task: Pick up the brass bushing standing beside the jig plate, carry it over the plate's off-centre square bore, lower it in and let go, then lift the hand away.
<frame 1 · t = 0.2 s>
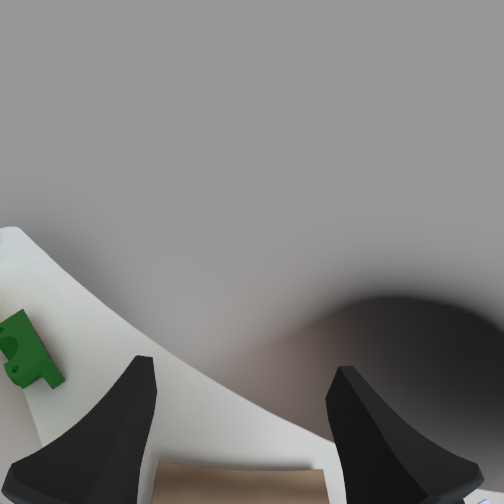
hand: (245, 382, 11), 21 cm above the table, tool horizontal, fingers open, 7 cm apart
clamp: (31, 370, 31), on the table
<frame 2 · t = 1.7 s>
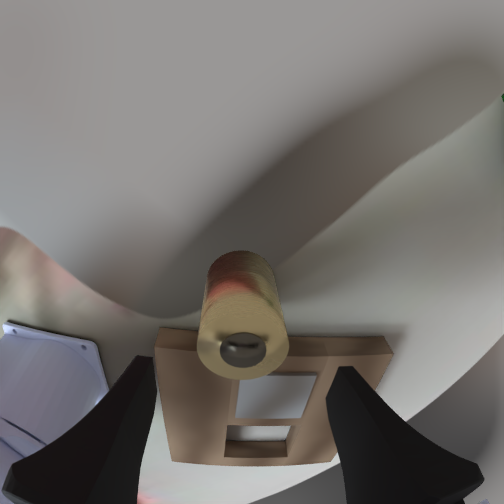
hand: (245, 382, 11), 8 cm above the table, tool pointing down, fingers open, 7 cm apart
brass bushing: (240, 281, 18), on the table
jig plate: (263, 407, 24), on the table
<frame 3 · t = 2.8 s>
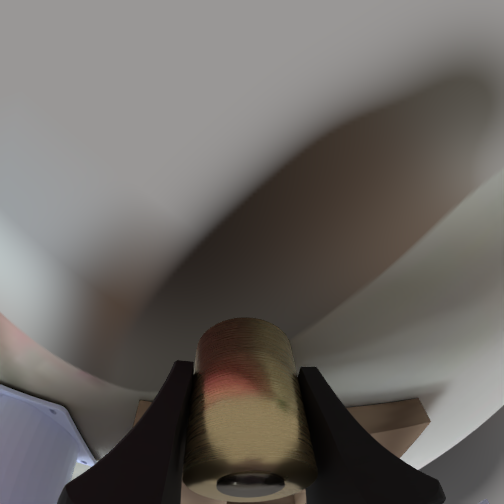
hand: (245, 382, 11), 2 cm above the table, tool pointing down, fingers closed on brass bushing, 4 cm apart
brass bushing: (243, 354, 13), on the table, touching gripper
jig plate: (270, 471, 18), on the table
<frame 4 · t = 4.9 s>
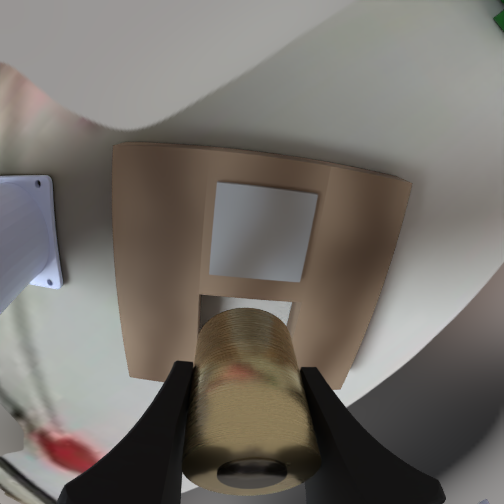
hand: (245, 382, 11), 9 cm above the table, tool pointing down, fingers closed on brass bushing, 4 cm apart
brass bushing: (244, 347, 13), point 7 cm above the table, touching gripper
jig plate: (249, 281, 20), on the table
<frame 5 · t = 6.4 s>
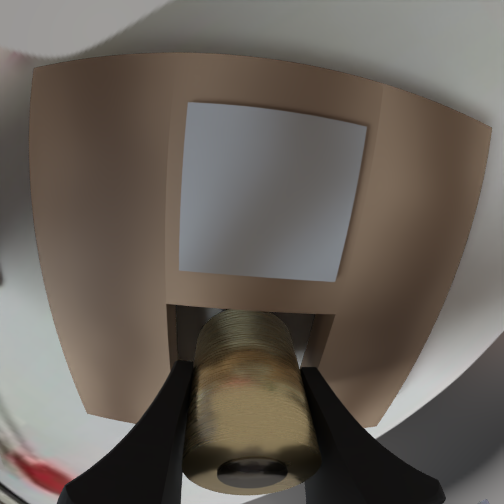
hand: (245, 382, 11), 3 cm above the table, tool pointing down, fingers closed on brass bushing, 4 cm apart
brass bushing: (244, 347, 13), point 1 cm above the table, touching gripper
jig plate: (250, 281, 12), on the table
when the fingers open (3 cm above the table, at t = 7.2 s): brass bushing stays where it is, resting in jig plate.
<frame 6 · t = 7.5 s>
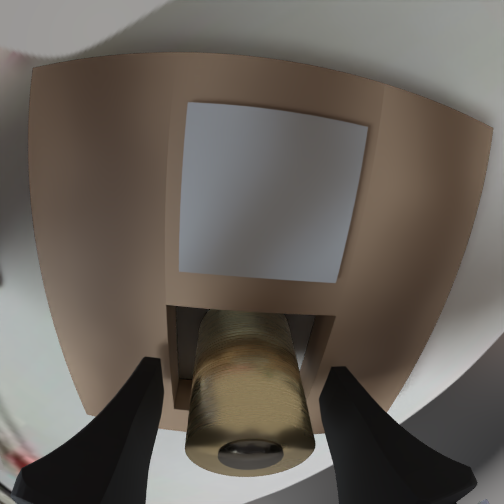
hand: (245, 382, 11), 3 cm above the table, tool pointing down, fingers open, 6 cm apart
brass bushing: (244, 334, 13), resting in jig plate
jig plate: (250, 282, 12), on the table
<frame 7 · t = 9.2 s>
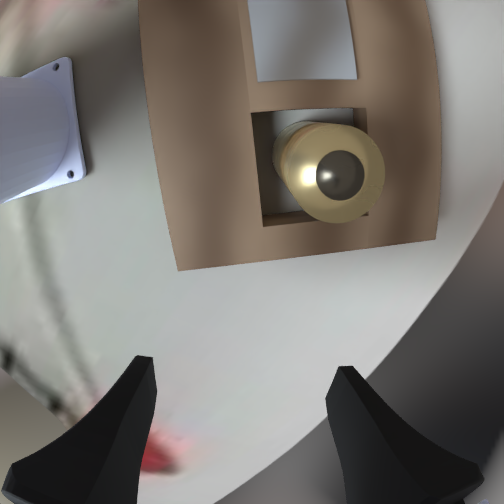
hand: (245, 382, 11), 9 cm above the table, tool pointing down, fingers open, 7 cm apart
brass bushing: (306, 155, 17), resting in jig plate
jig plate: (302, 109, 16), on the table
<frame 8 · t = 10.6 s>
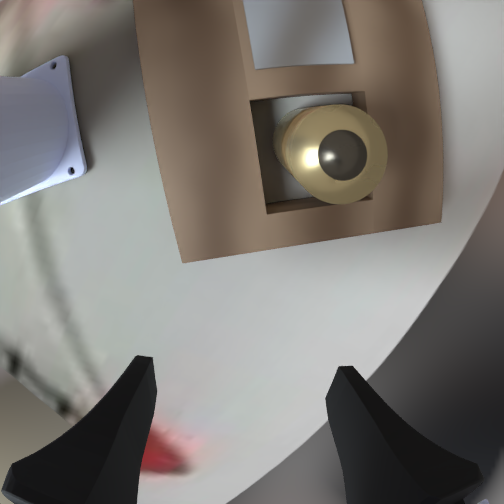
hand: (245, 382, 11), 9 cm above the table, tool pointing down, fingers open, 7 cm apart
brass bushing: (307, 142, 17), resting in jig plate
jig plate: (301, 96, 15), on the table
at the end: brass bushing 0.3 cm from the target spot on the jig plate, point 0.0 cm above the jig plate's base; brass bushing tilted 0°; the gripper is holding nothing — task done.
